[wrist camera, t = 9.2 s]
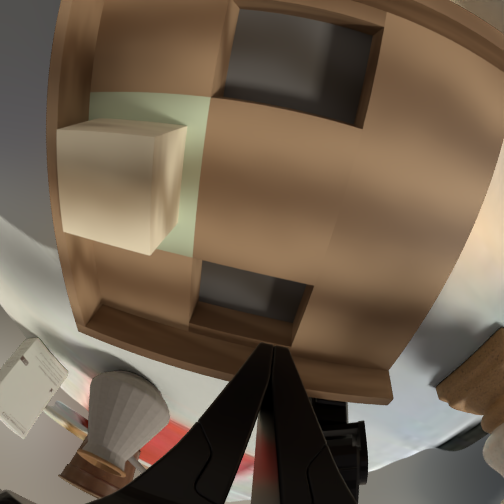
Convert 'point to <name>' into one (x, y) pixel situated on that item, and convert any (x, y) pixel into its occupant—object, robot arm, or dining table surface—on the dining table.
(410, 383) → the dining table surface
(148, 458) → the dining table surface
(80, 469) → the plant pot
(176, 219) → the birch block
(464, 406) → the candle holder
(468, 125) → the box
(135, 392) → the coffee pot
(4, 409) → the skincare box
